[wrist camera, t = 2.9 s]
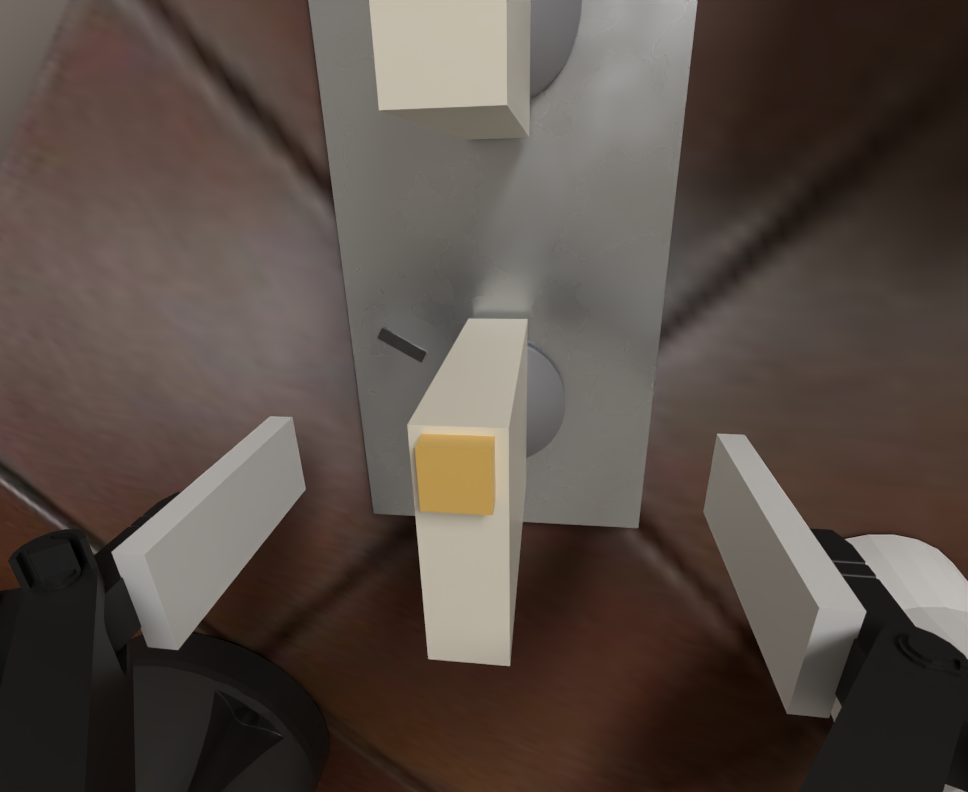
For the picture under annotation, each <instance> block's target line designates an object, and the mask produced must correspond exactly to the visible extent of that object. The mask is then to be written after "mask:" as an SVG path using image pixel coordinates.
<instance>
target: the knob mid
mask: <svg viewBox="0 0 968 792" xmlns="http://www.w3.org/2000/svg"><path fill="white" fill-rule="evenodd" d="M369 5H370V17H371V28H372V39H373V50H374V61H375V72H376V83H377V94H378V106H379V110H380V111H382V112H385V113H388V114H391V115H394V116H396V117H399V118H402V119H405V120H408V121H411V122H413V123H416V124H419V125H422V126H425V127H427V128H430V129H433V130H436V131H439V132H442V133H444V134H447V135H450V136H453V137H456V138H459V139H461V140H472V139H502V138H529V126H530V99H531V98H533V97H534V96H536V95H538V94H539V93H540V92H541V91H543V90H544V89H545V88H546V87H547V86H548V85H549V84H550V83H551V82H552V81H553V80H554V79H555V77H556V76H557V75H558V74H559V72H560V71H561V70H562V68H563V66H564V64H565V63H566V61H567V59H568V57H569V55H570V53H571V51H572V48H573V46H574V43H575V40H576V36H577V33H578V28H579V23H580V17H581V7H582V0H369Z"/></svg>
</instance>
